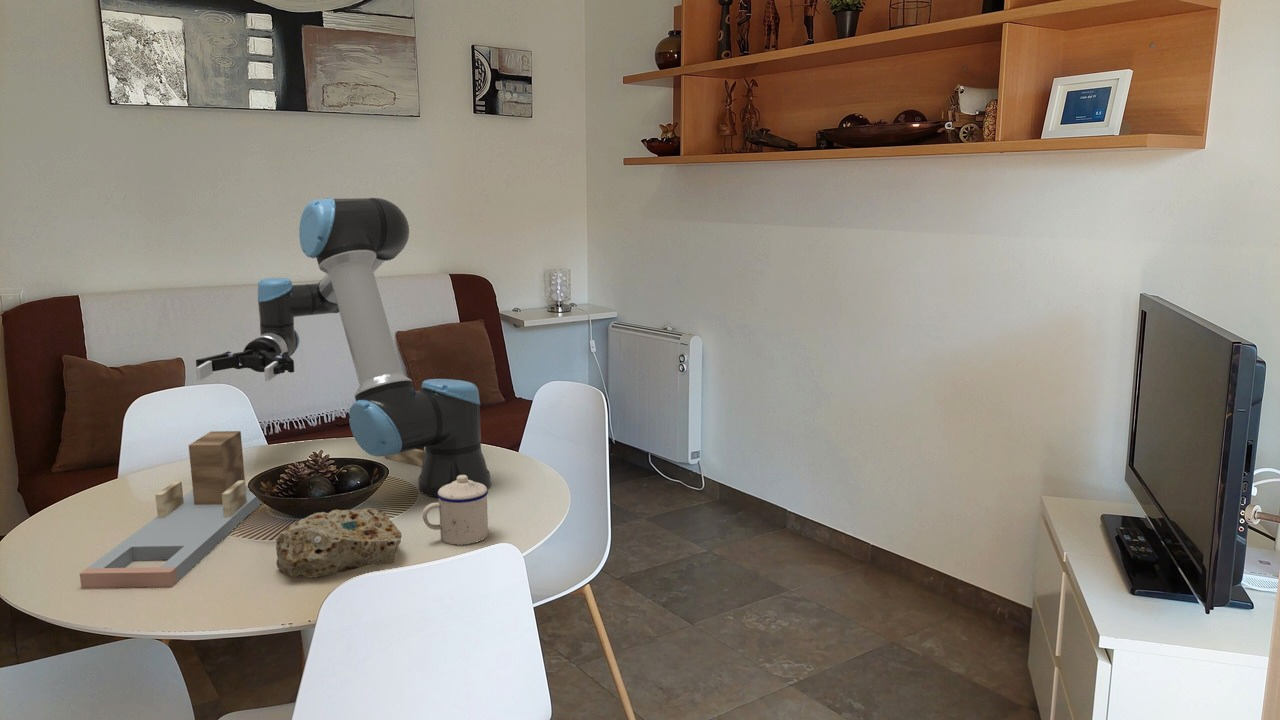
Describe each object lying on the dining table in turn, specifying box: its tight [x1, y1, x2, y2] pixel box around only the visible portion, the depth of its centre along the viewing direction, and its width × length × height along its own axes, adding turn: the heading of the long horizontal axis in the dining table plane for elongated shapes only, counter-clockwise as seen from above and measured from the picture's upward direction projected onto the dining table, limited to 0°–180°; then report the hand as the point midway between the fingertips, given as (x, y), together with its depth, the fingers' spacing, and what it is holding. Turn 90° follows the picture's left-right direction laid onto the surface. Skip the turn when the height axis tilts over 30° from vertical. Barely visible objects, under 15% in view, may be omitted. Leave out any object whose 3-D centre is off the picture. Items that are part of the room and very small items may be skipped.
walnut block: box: [188, 430, 246, 505], centre depth 183 cm, size 10×6×12 cm, turn 2°
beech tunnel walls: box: [154, 479, 247, 518], centre depth 176 cm, size 8×13×4 cm, turn 92°
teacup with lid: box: [422, 475, 489, 546], centre depth 168 cm, size 12×9×12 cm
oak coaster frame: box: [384, 449, 425, 467], centre depth 221 cm, size 14×16×4 cm
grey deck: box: [79, 485, 263, 589], centre depth 170 cm, size 43×14×2 cm, turn 2°
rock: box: [275, 507, 403, 578], centre depth 158 cm, size 21×14×10 cm
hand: (232, 374), depth 190 cm, fingers open, 13 cm apart
